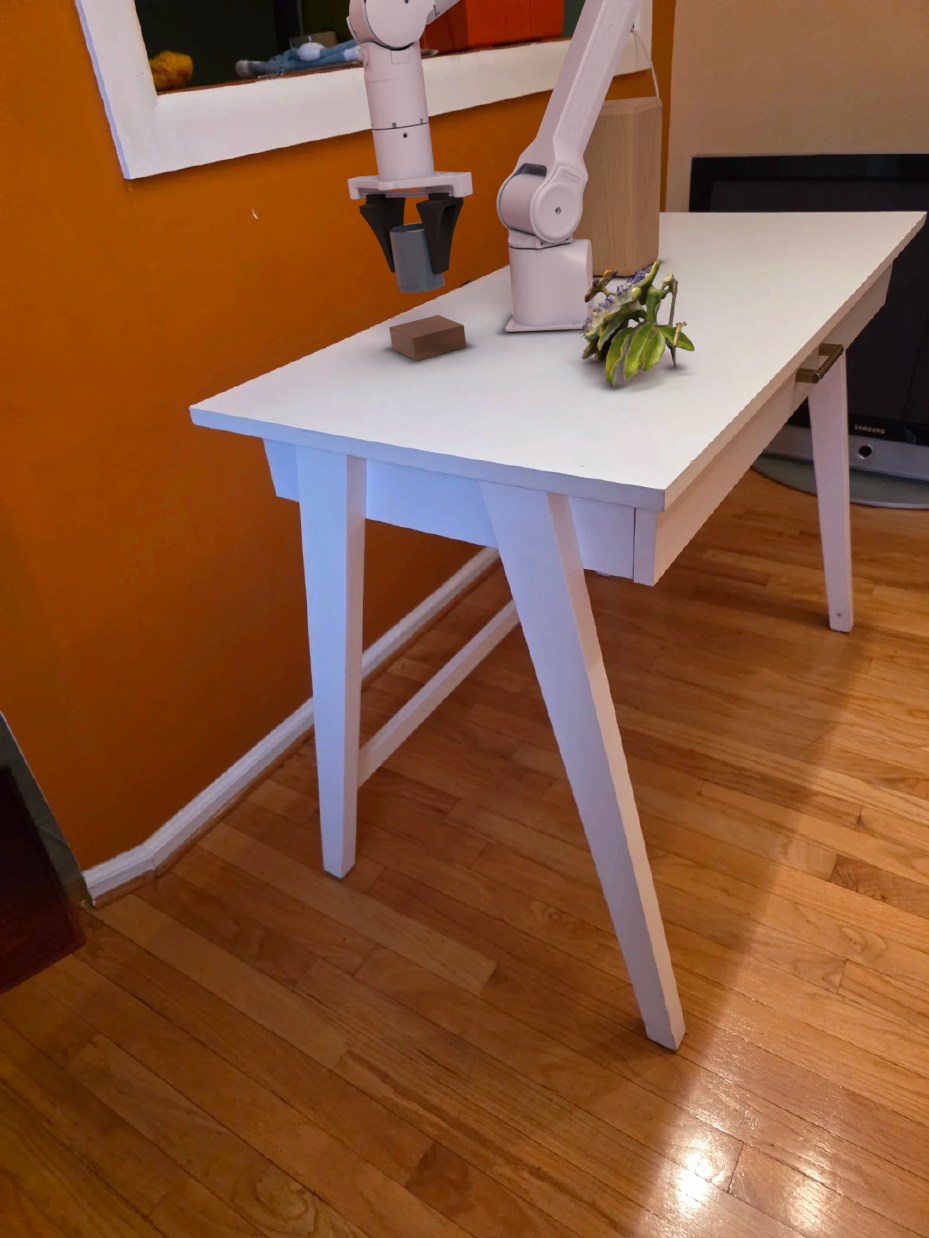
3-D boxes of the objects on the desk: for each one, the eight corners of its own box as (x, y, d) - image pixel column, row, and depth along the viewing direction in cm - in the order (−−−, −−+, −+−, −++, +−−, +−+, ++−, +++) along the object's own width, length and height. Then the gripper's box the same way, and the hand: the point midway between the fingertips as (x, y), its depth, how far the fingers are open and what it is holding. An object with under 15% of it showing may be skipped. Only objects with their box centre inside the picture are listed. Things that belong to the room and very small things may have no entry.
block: (440, 336, 97) (438, 314, 95) (466, 347, 92) (464, 325, 91) (392, 349, 95) (388, 327, 93) (415, 361, 90) (412, 338, 89)
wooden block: (660, 260, 116) (665, 95, 105) (633, 278, 109) (634, 104, 98) (596, 259, 121) (594, 101, 109) (566, 276, 114) (560, 110, 103)
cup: (449, 279, 91) (443, 220, 87) (437, 291, 87) (430, 230, 83) (405, 282, 92) (397, 224, 89) (391, 294, 88) (382, 234, 85)
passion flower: (603, 413, 86) (603, 300, 86) (708, 399, 81) (708, 278, 81) (563, 385, 76) (562, 257, 76) (680, 366, 71) (679, 229, 71)
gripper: (319, 136, 82) (345, 278, 90) (436, 127, 75) (453, 283, 82) (363, 126, 86) (384, 262, 94) (478, 117, 79) (490, 266, 87)
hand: (419, 271), depth 89 cm, fingers closed on cup, 5 cm apart
